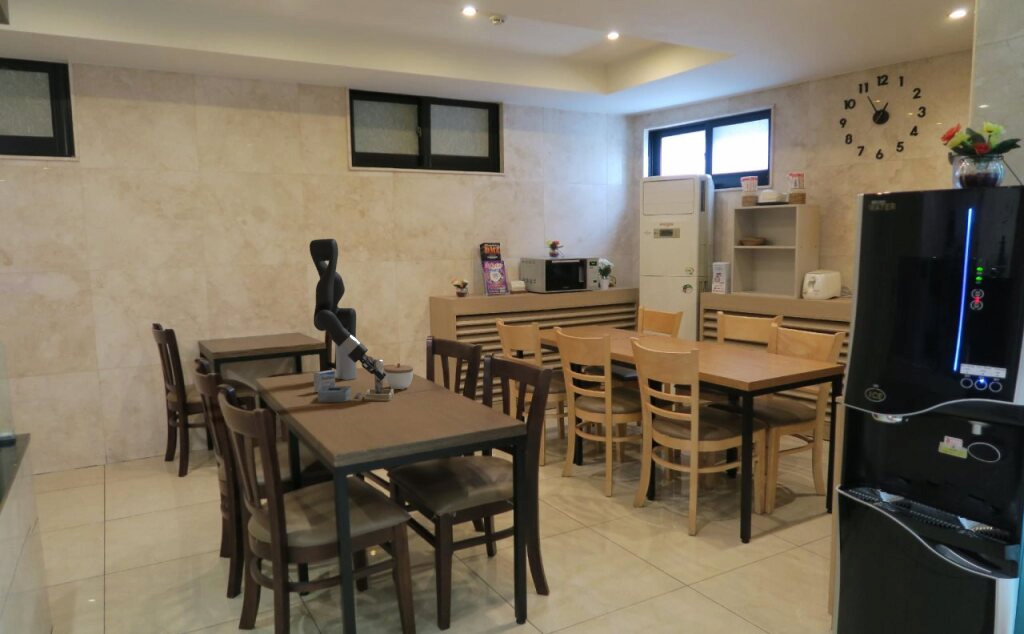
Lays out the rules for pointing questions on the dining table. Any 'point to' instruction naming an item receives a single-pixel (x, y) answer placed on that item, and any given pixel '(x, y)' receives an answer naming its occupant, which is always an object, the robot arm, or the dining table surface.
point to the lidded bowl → (398, 376)
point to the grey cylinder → (378, 382)
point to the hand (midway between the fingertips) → (383, 377)
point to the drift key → (358, 395)
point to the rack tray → (379, 395)
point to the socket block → (334, 394)
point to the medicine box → (323, 379)
